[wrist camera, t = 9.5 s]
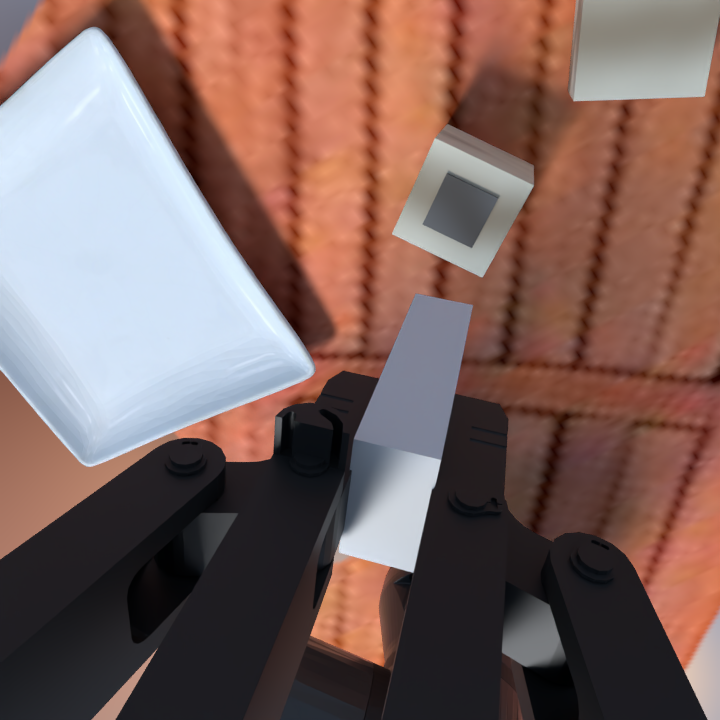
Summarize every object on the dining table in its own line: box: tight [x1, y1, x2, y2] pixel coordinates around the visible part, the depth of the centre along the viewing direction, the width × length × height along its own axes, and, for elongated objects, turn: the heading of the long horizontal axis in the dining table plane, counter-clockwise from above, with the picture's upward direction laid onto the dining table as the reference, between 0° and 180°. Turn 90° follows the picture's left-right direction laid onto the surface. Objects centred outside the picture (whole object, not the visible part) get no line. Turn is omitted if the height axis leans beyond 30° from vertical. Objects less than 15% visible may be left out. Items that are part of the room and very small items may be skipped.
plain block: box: [568, 0, 720, 101], centre depth 31 cm, size 6×6×6 cm
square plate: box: [0, 27, 316, 467], centre depth 49 cm, size 27×27×4 cm
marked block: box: [392, 124, 534, 278], centre depth 38 cm, size 6×6×6 cm
